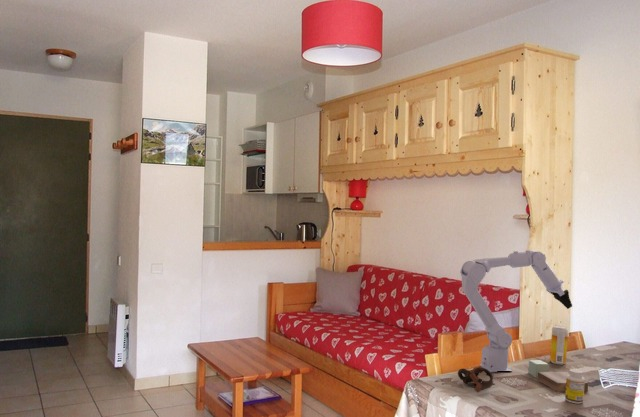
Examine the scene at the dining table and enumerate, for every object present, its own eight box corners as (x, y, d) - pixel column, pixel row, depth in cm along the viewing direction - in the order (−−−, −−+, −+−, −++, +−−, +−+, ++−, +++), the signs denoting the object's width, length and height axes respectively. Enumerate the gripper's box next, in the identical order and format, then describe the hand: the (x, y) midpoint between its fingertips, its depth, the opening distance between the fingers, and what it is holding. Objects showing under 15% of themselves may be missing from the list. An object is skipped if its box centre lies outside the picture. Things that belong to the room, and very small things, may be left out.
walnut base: (557, 391, 194) (558, 383, 193) (537, 380, 205) (538, 372, 205) (587, 391, 196) (588, 382, 196) (566, 379, 208) (566, 371, 208)
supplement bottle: (567, 396, 189) (569, 367, 188) (585, 401, 185) (587, 371, 185) (562, 400, 184) (564, 370, 184) (580, 405, 181) (582, 374, 181)
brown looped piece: (488, 385, 197) (496, 369, 193) (486, 405, 189) (494, 388, 185) (455, 373, 200) (462, 357, 195) (452, 391, 192) (459, 375, 187)
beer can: (562, 361, 233) (565, 326, 233) (567, 365, 227) (570, 329, 227) (548, 360, 234) (550, 324, 233) (552, 364, 228) (555, 328, 227)
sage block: (535, 377, 209) (536, 364, 209) (528, 373, 214) (529, 360, 214) (547, 377, 210) (548, 364, 210) (539, 372, 215) (540, 360, 215)
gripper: (562, 276, 210) (582, 304, 211) (550, 266, 224) (568, 293, 225) (546, 286, 211) (566, 314, 212) (535, 275, 225) (553, 302, 226)
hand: (566, 304), depth 218 cm, fingers open, 7 cm apart
